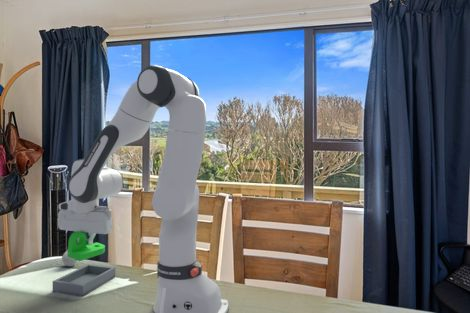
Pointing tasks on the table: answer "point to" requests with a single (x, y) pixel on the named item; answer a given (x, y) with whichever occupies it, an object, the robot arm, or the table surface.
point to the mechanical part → (83, 247)
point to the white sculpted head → (68, 260)
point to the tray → (83, 280)
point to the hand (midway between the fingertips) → (85, 244)
